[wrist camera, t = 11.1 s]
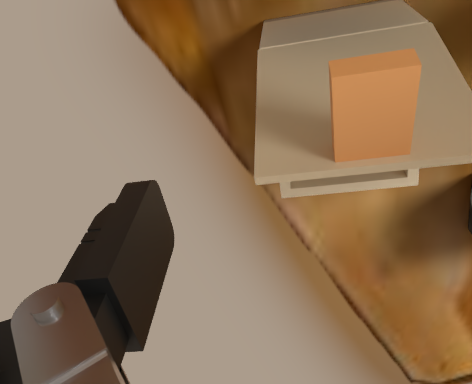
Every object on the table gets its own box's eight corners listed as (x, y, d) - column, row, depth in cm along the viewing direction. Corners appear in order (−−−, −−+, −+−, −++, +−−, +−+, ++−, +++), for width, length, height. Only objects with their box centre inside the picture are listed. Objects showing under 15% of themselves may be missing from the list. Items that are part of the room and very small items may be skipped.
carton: (398, -3, 40) (428, 21, 32) (395, 137, 48) (418, 185, 40) (263, 20, 43) (259, 48, 34) (282, 150, 51) (281, 198, 42)
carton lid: (430, 29, 32) (442, -59, 28) (503, 159, 22) (540, 55, 18) (258, 56, 34) (245, -21, 30) (255, 185, 25) (234, 98, 20)
